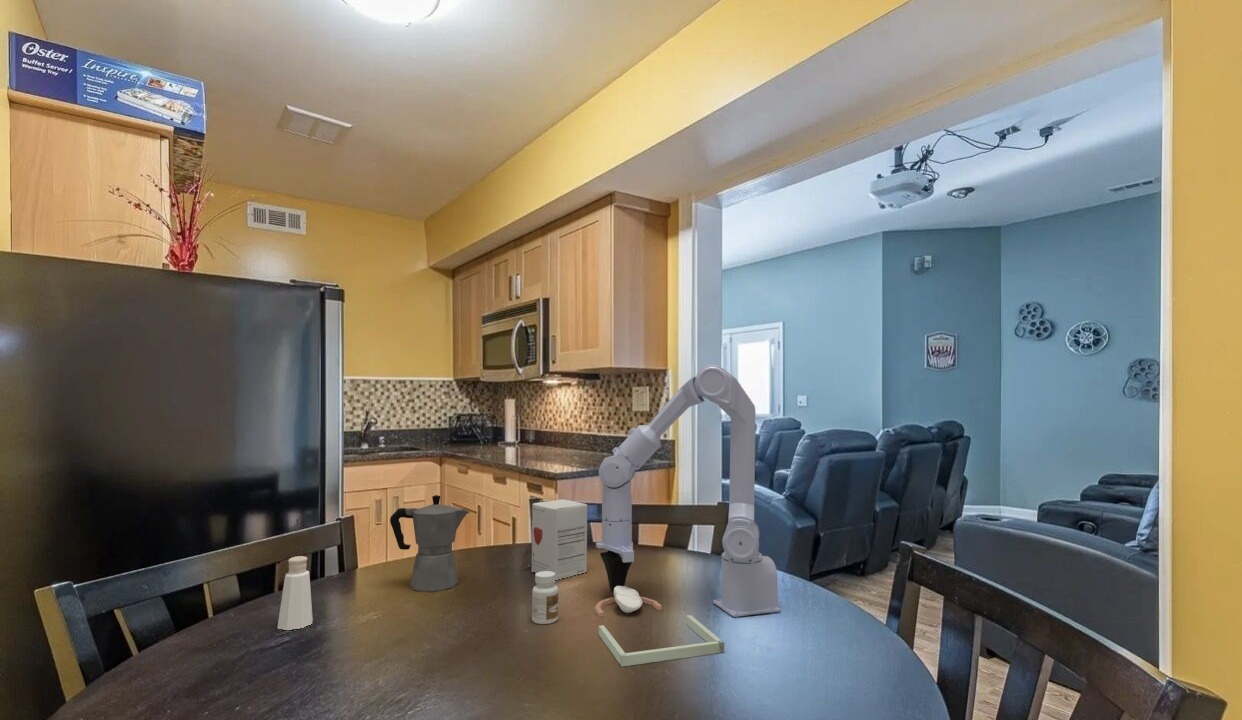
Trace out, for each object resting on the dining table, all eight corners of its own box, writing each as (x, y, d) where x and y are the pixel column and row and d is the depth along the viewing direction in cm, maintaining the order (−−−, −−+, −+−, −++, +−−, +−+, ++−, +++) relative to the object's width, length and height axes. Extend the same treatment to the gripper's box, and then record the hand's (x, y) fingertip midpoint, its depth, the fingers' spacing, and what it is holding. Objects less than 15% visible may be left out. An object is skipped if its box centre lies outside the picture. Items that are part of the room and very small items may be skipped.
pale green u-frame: (690, 623, 99) (690, 614, 99) (724, 652, 88) (724, 642, 88) (598, 634, 94) (598, 625, 95) (621, 666, 83) (621, 656, 83)
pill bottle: (553, 625, 98) (553, 578, 99) (528, 623, 99) (528, 576, 100) (561, 616, 103) (561, 570, 103) (537, 614, 103) (537, 569, 104)
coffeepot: (468, 576, 126) (470, 490, 127) (467, 590, 117) (468, 497, 118) (391, 581, 123) (394, 493, 124) (384, 595, 114) (386, 500, 115)
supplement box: (529, 572, 129) (530, 502, 130) (562, 564, 135) (563, 498, 136) (554, 581, 123) (555, 508, 124) (588, 573, 129) (588, 503, 130)
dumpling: (612, 604, 109) (612, 582, 109) (641, 604, 109) (641, 582, 109) (614, 618, 102) (614, 594, 102) (645, 618, 102) (644, 594, 102)
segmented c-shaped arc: (647, 597, 113) (647, 593, 113) (661, 610, 106) (661, 605, 106) (588, 603, 109) (588, 599, 109) (599, 617, 102) (599, 612, 102)
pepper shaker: (318, 625, 98) (321, 557, 99) (282, 634, 94) (285, 563, 95) (306, 617, 102) (309, 552, 103) (271, 625, 98) (274, 557, 99)
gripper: (587, 513, 119) (586, 582, 118) (607, 527, 105) (607, 606, 104) (620, 511, 121) (620, 579, 120) (644, 525, 107) (645, 602, 106)
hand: (616, 591), depth 112 cm, fingers closed
